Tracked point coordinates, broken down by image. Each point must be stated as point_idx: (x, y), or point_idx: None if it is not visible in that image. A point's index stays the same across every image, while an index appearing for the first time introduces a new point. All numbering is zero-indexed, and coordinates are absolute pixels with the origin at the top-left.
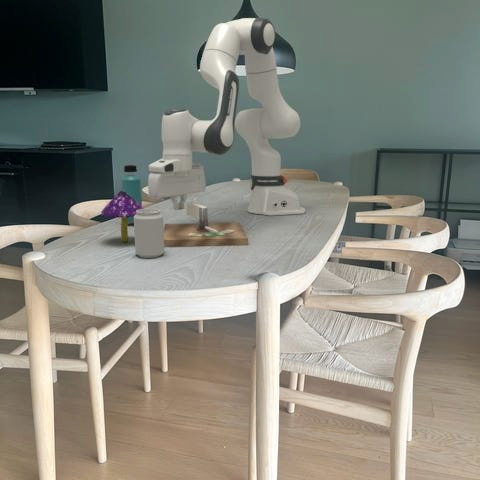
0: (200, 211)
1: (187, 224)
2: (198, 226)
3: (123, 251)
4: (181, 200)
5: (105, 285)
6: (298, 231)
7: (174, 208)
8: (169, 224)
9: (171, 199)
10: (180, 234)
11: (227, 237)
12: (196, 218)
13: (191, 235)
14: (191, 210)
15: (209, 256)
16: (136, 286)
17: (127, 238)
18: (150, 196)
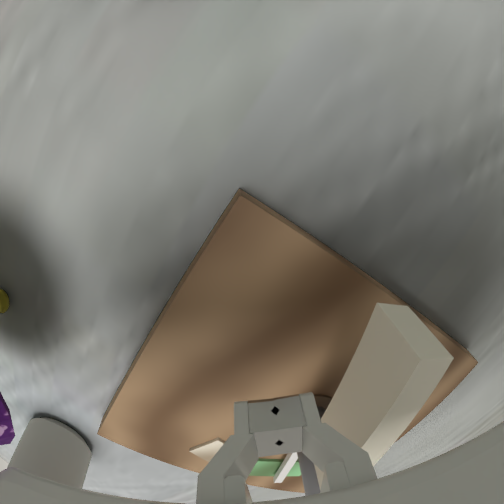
0: (304, 487)
1: (340, 294)
2: (343, 360)
3: (4, 376)
4: (318, 453)
5: (7, 460)
6: (480, 419)
7: (236, 411)
8: (256, 228)
9: (205, 477)
10: (181, 424)
11: (284, 484)
12: (321, 418)
13: (202, 456)
14: (358, 398)
15: (180, 493)
16: None
17: (2, 312)
18: (6, 473)
